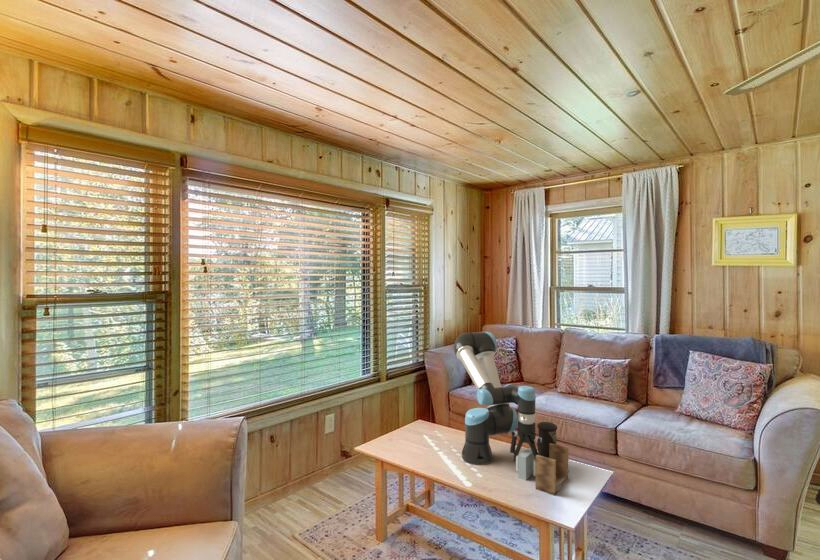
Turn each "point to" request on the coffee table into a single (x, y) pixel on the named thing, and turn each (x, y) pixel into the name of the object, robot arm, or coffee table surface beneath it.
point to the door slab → (525, 464)
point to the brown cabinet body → (552, 469)
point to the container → (547, 435)
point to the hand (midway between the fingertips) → (526, 472)
